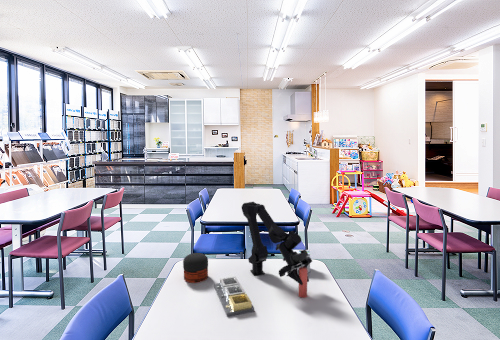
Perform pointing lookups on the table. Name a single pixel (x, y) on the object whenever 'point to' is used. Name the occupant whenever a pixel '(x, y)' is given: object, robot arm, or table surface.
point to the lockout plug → (303, 277)
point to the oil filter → (195, 267)
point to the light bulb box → (300, 261)
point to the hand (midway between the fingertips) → (305, 283)
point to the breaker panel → (233, 297)
